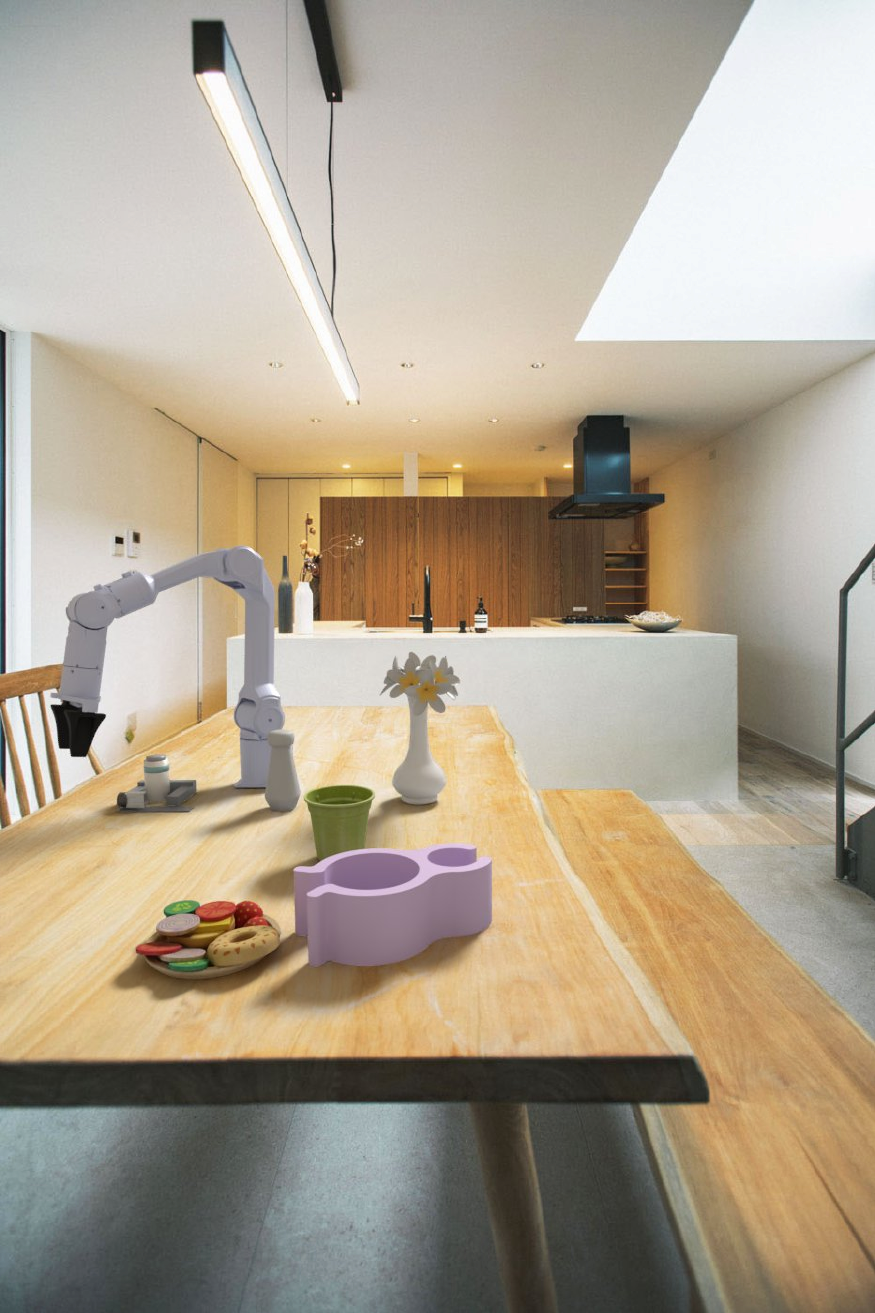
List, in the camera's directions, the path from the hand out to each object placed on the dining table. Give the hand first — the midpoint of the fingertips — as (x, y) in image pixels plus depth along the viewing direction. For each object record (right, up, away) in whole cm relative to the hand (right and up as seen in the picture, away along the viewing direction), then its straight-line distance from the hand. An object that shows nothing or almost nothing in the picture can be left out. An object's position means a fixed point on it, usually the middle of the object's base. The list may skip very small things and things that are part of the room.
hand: (72, 752), depth 109 cm
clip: (+54, -14, -37) cm, 67 cm away
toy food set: (+36, -14, -41) cm, 56 cm away
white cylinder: (+9, -10, +11) cm, 17 cm away
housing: (+11, -10, +9) cm, 17 cm away
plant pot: (+45, -12, -17) cm, 50 cm away
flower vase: (+55, -10, +8) cm, 57 cm away
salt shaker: (+32, -10, +5) cm, 34 cm away
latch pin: (+8, -10, +5) cm, 14 cm away
